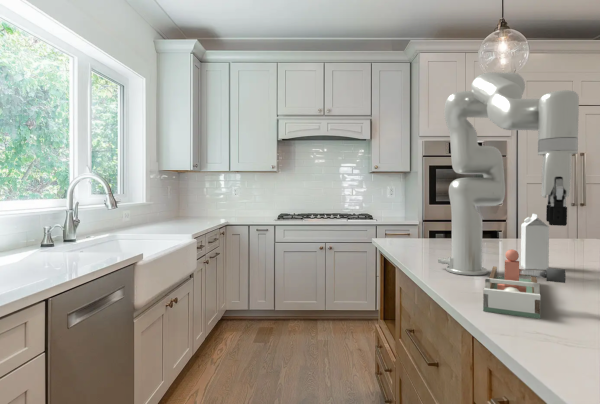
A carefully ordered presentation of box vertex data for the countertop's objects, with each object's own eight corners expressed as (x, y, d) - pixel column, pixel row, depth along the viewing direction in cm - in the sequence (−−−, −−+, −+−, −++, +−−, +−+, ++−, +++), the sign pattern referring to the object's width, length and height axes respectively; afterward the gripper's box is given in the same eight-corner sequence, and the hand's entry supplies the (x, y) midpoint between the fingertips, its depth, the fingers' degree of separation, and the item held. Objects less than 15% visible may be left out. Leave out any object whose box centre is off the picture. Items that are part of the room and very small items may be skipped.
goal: (483, 306, 88) (483, 283, 88) (485, 300, 93) (485, 277, 93) (540, 314, 82) (540, 288, 82) (539, 306, 88) (539, 283, 87)
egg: (501, 284, 90) (502, 287, 93) (501, 301, 88) (501, 304, 92) (521, 286, 88) (521, 289, 91) (521, 304, 86) (521, 306, 90)
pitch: (483, 311, 88) (483, 293, 88) (493, 279, 119) (493, 266, 119) (540, 318, 82) (540, 300, 82) (534, 283, 114) (535, 269, 114)
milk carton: (543, 266, 138) (543, 213, 138) (548, 270, 131) (549, 214, 131) (520, 265, 140) (521, 213, 140) (525, 269, 134) (525, 214, 133)
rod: (497, 298, 93) (497, 249, 92) (497, 295, 95) (498, 247, 95) (565, 306, 86) (566, 253, 86) (563, 303, 89) (564, 251, 88)
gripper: (536, 151, 97) (535, 220, 97) (539, 145, 82) (537, 226, 82) (573, 150, 93) (571, 221, 93) (583, 143, 78) (581, 227, 78)
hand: (555, 223), depth 88 cm, fingers open, 9 cm apart
